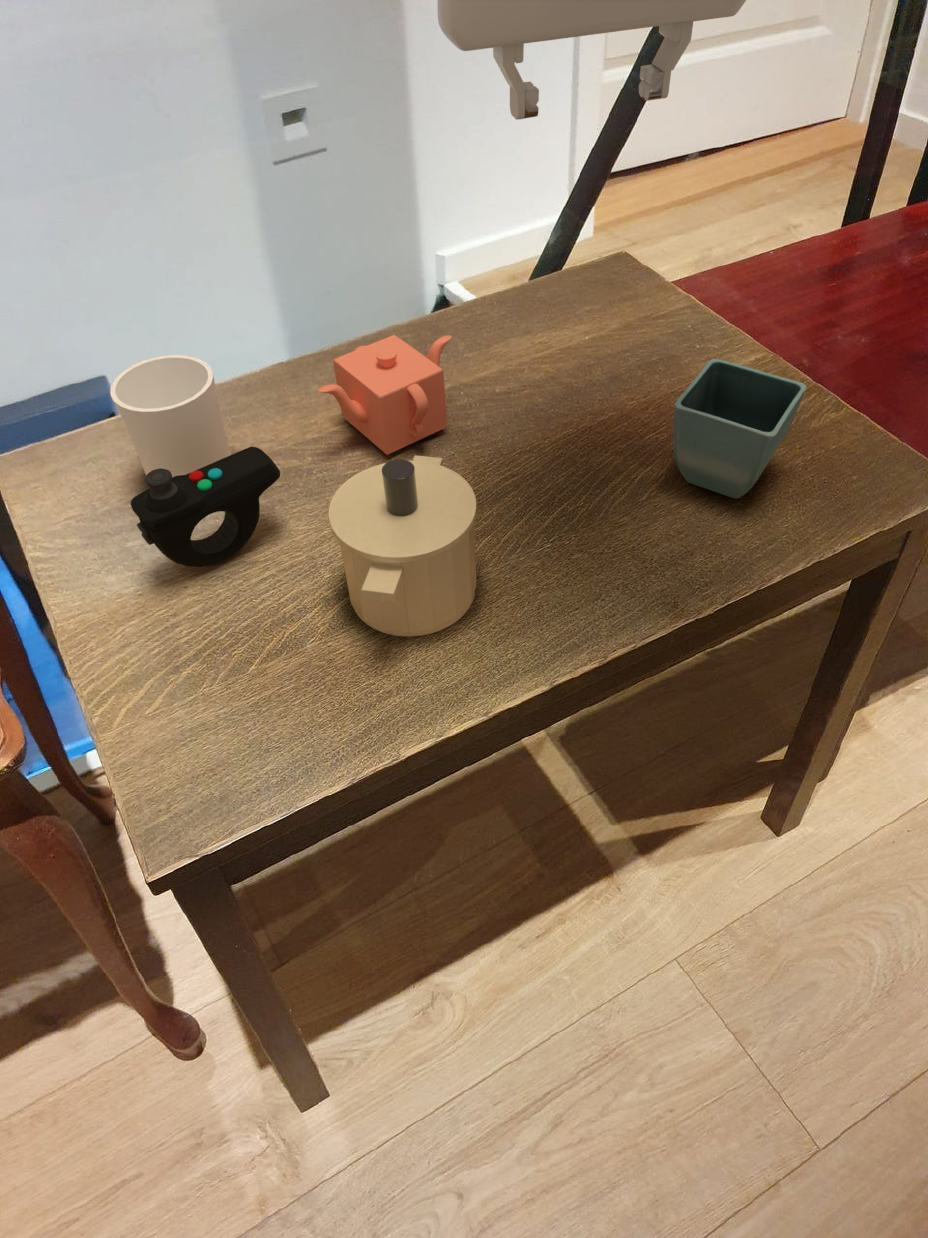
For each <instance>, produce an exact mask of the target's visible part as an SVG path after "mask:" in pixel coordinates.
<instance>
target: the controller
mask: <svg viewBox="0 0 928 1238" xmlns="http://www.w3.org/2000/svg"><path fill="white" fill-rule="evenodd" d="M231 454H232V453H231ZM280 477H281V470H280V468H279V467H278V466H277V464H276V463H275V461H273V459H272V458H271V457H270V456H269V455H268V454H267V453H266V452H265V451H264V450H262V449H261V448H259V447H256V446H249V447H247V448H244V449H242V450H239V451H237V452H235V453H233V454H232V455H230V456H228V457H225V458H223V459H221V460H218V461H216V462H214V463H212V464H209V465H207V466H205V467H202V468H200V469H198V470H195V471H193V472H191V473H188V474H186V475H179V476H175V477H173V478H172V474H171V472H170V471H169V470H166V469H155V470H152V471H151V472H149V473H148V474H147V475H146V474H145V477H144V482H145V484H146V485H147V486H148V489H146V490H144V491H142V492H139V494H137V495H135V496H134V497H133V498H132V499H131V500H130V507H131V509H132V512H133V513H134V514H135V515H136V516H137V518H138V521H139V522H138V523H136V527H137V528H138V530H139V531H140V534H141V537H142V538H143V540H144V541H145V542H146V544H148V545H149V546H151V545H154V546H155V547H156V548H157V549H158V550H159V552H160V553H162V554H163V556H164V557H165V558H167V559H169V560H170V561H172V562H173V563H175V564H177V565H181V566H184V567H188V568H206V567H210V566H214V565H218V564H220V563H223V562H224V561H226V560H228V559H230V558H232V557H233V556H235V555H236V554H237V553H238V552H239V551H241V550H242V549H243V548H244V547H245V545H247V543H248V542H249V541H250V539H252V537H253V535H254V533H255V531H256V529H257V526H258V523H259V520H260V514H261V513H260V510H261V507H260V506H261V505H260V497H261V496H262V494H263V493H264V492H265V491H266V490H268V489H269V488H270V487H271V486H272V485H274V484H275V483H276V482H277V481H278V480H279V479H280ZM149 487H150V488H149ZM219 512H224V517H223V520H222V522H221V524H220V526H219V527H218V528H217V530H215V531H214V532H213V533H212V534H211V535H209V536H207V537H205V538H202V539H192V535H193V532H194V530H195V528H196V526H198V524H199V523H200V522H201V521H202V520H203V519H206V517H208V516H210V515H212V514H214V513H219Z"/></svg>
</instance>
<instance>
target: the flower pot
mask: <svg viewBox="0 0 928 1238" xmlns="http://www.w3.org/2000/svg"><path fill="white" fill-rule="evenodd" d="M806 391H807V385H806V384H805V383H804V382H800V381H798V380H794V379H791V378H786V377H784V376H779V375H775V374H772V373H769V372H765V371H762V370H759V369H755V368H751V367H748V366H745V365H741V364H738V363H734V362H731V361H728V360H724V359H720V358H712V359H710V360H708V362H706V364H705V365H704V367H703V368H702V369H701V370H700V372H699V373H698V374H697V376H696V377H695V378H694V379H693V381H692V382H691V383H690V384H689V386H688V387H687V388H686V389H685V390H684V391H683V392H682V394H681V395H680V396H679V397H678V398H677V400H676V401H675V402H674V405H673V424H672V425H673V426H672V450H673V451H672V452H673V457H674V460H675V461H674V462H675V464H676V467H677V468H678V470H679V472H680V473H681V475H682V477H683V478H684V479H685V481H686V483H688V484H691V485H694V486H697V487H700V488H701V489H705V490H708V491H711V492H713V493H716V494H719V495H722V496H725V497H728V498H731V499H734V500H735V499H736V500H739V499H740V498H741V497H743V496H744V495H746V494H747V493H748V492H749V491H750V490H751V489H752V488H753V487H754V486H755V484H756V483H757V481H758V480H759V478H760V477H761V476H762V473H763V472H764V470H765V469H766V467H767V466H768V464H769V462H770V461H771V459H772V458H773V456H774V455H775V453H776V452H777V450H778V449H779V447H780V446H781V444H782V443H783V441H784V439H785V437H786V436H787V434H788V432H789V430H790V428H791V426H792V423H793V421H794V419H795V416H796V414H797V412H798V410H799V408H800V405H801V402H802V400H803V399H804V395H805V392H806Z"/></svg>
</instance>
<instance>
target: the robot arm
mask: <svg viewBox="0 0 928 1238" xmlns="http://www.w3.org/2000/svg"><path fill="white" fill-rule="evenodd" d="M746 1H747V0H437V20H438V21H437V22H438V25H439V28H440V30H441V32H442V34H443V35H444V36H445V37H446V39H448V40H449V42H451V44H453V45H454V46H455V47H456V48H457V49H459V50H460V51H462V52H471V51H478V50H487V49H492V56H493V59H494V61H495V63H496V64H497V66H498V68H499V70H500V72H501V73H502V76H503V77H504V79H505V81H506V83H507V85H508V86H509V111H510V115H511V116H512V117H513V118H514V119H515V120H516V121H517V120H524V119H529V118H536V117H538V116H539V106H538V103H539V101H540V99H539V98H540V89H539V88H538V87H537V86H535V85H534V84H533V82H531V81H524V80H523V79H522V76H521V74H520V72H519V70H518V68H517V66H516V64H521V63H523V62H524V48H525V47H524V45H525V44H532V43H539V42H540V43H541V42H548V41H554V40H562V39H570V38H579V37H586V36H593V35H601V34H609V33H616V32H623V31H631V30H639V29H646V28H655V27H658V33H659V34H660V35H661V36H663V37H664V38H663V40H662V42H661V43H660V46H659V48H658V50H657V52H656V54H655V56H654V57H653V59H652V62H651V64H646V65H641V66H640V70H639V78H640V82H639V83H638V95H639V96H640V97H641V98H643V99H644V101H647V102H649V101H656V100H664V99H666V98H668V97H669V92H670V85H671V84H670V83H671V75H672V71H674V70H675V68H676V66H677V65H678V63H679V61H680V60H681V58H682V56H683V55H684V53H685V52H686V49H687V48H688V46H689V44H690V43H691V41H692V34H693V28H694V22H701V21H708V20H715V19H723V18H730V17H734V16H735V15H737V14H738V12H739V11H741V9H742V7H743V6H744V4H745V3H746Z"/></svg>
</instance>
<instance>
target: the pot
mask: <svg viewBox="0 0 928 1238" xmlns="http://www.w3.org/2000/svg"><path fill="white" fill-rule="evenodd" d="M443 460H444V459H443V458H442V457H437V456H427V455H414V456H413V458H412V461H423V462H429V463H434V464H438V465H441V466H443V467H444V461H443ZM475 533H476V532H475V523H474V524H473V526H472V528H471V529H470V531H469V533H468V534H467V535H466V536H465V537H464V538H463V539H462V540H461V541H460V542H459V543H458V544H456V545H455V546H453V547H452V548H451V549H449V550H447V551H445V552H443V553H441V554H439V555H436V556H434V557H431V558H428V559H424V560H420V561H415V562H406V563H387V562H379V561H374V560H370V559H366V558H363V557H361V556H358V555H356V554H354V553H353V552H351V551H349V550H348V549H346V548H345V547H344V546H343V545H342V544H341V543H340V542H339V541H338V542H339V547H340V553H341V557H342V558H341V559H342V564H343V568H344V574H345V579H346V584H347V590H348V594H349V600H350V604H351V606H352V608H353V610H354V612H355V614H356V615H357V617H358V618H359V619H360V620H361V621H362V622H363V623H364V624H366V625H367V626H368V627H370V628H372V629H373V630H376V631H378V632H380V633H382V634H387V635H390V636H396V637H405V638H406V637H421V636H426V635H431V634H434V633H437V632H440V631H443V630H445V629H447V628H449V627H450V626H452V625H453V624H455V623H456V622H458V621H459V620H460V619H461V618H462V617H463V616H464V615H466V613H467V612H468V611H469V610H470V607H471V606H472V604H473V602H474V600H475V596H476V586H477V559H476V535H475Z"/></svg>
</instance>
